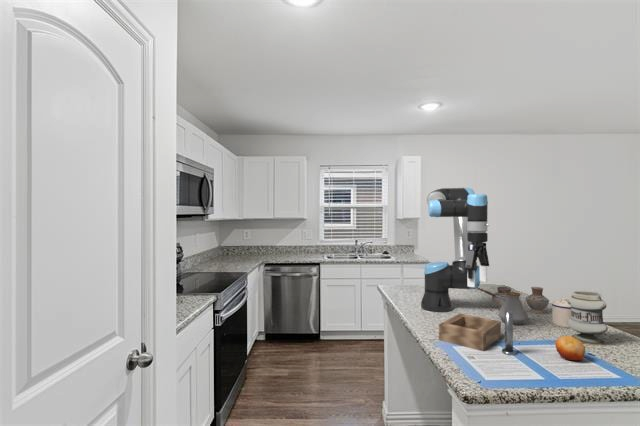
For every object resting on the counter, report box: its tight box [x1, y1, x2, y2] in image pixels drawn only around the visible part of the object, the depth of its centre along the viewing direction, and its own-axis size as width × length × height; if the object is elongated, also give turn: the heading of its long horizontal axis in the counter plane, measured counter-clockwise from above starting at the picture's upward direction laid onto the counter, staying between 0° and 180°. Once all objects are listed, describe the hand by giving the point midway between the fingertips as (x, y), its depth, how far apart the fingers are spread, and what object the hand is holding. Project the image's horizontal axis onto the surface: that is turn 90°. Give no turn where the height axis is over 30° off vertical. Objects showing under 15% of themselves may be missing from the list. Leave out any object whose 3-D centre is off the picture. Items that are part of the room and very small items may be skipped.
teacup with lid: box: [551, 297, 571, 329], centre depth 152 cm, size 12×9×12 cm
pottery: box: [491, 286, 550, 314], centre depth 175 cm, size 11×25×12 cm, turn 68°
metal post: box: [501, 311, 517, 356], centre depth 120 cm, size 4×4×14 cm
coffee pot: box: [474, 287, 529, 326], centre depth 156 cm, size 21×12×15 cm, turn 80°
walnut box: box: [438, 313, 502, 352], centre depth 134 cm, size 16×20×6 cm
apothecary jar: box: [567, 290, 609, 346], centre depth 132 cm, size 12×12×18 cm
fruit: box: [555, 335, 586, 361], centre depth 116 cm, size 8×8×8 cm
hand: (477, 284), depth 142 cm, fingers open, 13 cm apart
